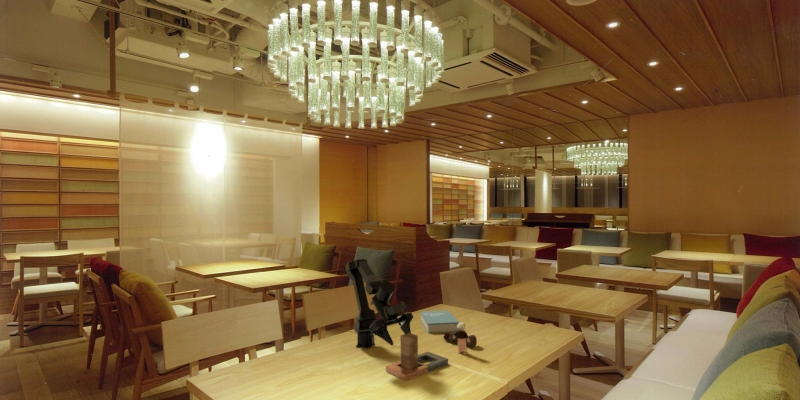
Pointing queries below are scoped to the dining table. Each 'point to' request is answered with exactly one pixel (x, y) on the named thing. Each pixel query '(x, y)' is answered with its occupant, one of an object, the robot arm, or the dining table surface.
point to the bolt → (450, 338)
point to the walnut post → (409, 351)
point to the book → (439, 321)
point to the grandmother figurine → (461, 339)
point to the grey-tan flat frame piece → (421, 369)
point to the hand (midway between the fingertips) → (402, 341)
